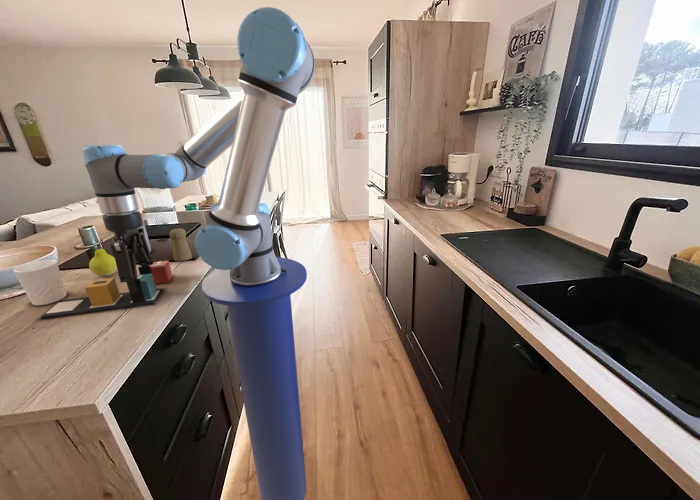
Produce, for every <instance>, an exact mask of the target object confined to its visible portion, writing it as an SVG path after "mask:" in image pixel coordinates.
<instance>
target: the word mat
mask: <svg viewBox="0 0 700 500" xmlns="http://www.w3.org/2000/svg"><path fill="white" fill-rule="evenodd" d="M156 290H157V292H156V293H155V295H154V296H153V298H152V299H146V301H145V302H139V303H133V302H132V299H131V295H130V292H129V291H128V292H119V293H120V296H119V298H118V299H117V300H116V301H115V302H114V303H113V304H109V305H101V306H93V307H92V304H91V302H90V299H89V296H87V297H86V296H85V297H79V298H70V299H61V300H59V301H57V303H56V304H54V306H52V307H51V308H50V309H48V310H47V311H46V312H45V313H44V314H42V315H41V316H40V320H45V319H51V318H59V317H68V316H74V315H82V314H89V313H97V312H106V311H111V310H121V309H128V308H135V307H141V306H142V307H143V306H149V305H155V304H156V302H157V300H158V299H159V297H160V296H161V294H162V292H163V290H164V288H163V287H162V288H156Z"/></svg>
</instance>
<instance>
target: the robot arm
mask: <svg viewBox="0 0 700 500" xmlns="http://www.w3.org/2000/svg"><path fill="white" fill-rule="evenodd" d="M236 48H237V52H238V56H239V59H240V61H241V65H240V69H239V70H240V71H239V75H238V81H237V82H238V83H239V86H240V87H241V90H240V91H239V92H238V93H237V94H236V95H235V96H234V97H232V99H231V100H230V101H229V102H227V103H226V104H225V105H224V106H223V107H222V108H220V110H219V111H218V112H217V113H216V114H215V115H213V116H212V117H211V118H210V119H209V120H208V121H207V122H206V123H205V124H204V125H202V127H201V128H199V130H198V129H197V131H196V132H195V133H194V134H193V135H191V136H190V137H189V139H187V140H186V141H185V142H184V143H183V144H182V145H181V146H180V147H179V148H178V149H177V150H175V151H173V152H165V153H152V154H150V153H149V154H128V153H126V152H125V149H124V147H123V146H122V145H120V144H88V145H84V146H83V147H82V155H83V159H84V167H85V168H86V171H87V173H88V176H89V179H90V182H91V185H92V188H93V192H94V195H95V197H96V199H95V203H96V204H98V207H99V210H100V213H101V214H103V215H102V217H101V218H102V221H103V224H104V227H105V230H107V231H109V232H113V233H114V232H115V235H116V238H115V242H111V243H110V248H111V251H112V253H113V257H114V258H115V261H116V265H117V274H118V278H119V281H120V283H121V284H122V283H126V286H127V285H128V286H127V289H128V292H130V295H131V298H132V302H133V303H139V302H145V301H146V298H145V295H144V291H143V288H142V285H141V281H140V278H137V275H138V274H139V275H144V274H152V271H151V267H150V266H149V265H153V262H154V261H153V257H152V254H151V252H150V251H149V248H148V245H147V242H146V239H145V235H144V229H143V228H139V227H141V226H142V225H143V220H144V219H143V220H142V217H143V216H142V212H141V211H139V209H140V204H139V201H138V197H137V194H136V190H135V189H159V190H166V189H176V188H178V187H180V186H181V183H185V182H191V181H196V180H197V179H199V178H202V177H203V176H204V175H205V174H206V171H207V168H208V167H209V166H210V165H211V164H212V163H213V162H215V161H216V160H217V159H218V158H219V157H220V156H222V154H224V153H225V152H226V151H227V150H228V149H230V153H229V157H228V162H227V166H226V170H225V174H224V177H223V178H224V179H223V184H222V188H221V192H220V196H219V200H218V201H217V202H214V203H213V204H211V205H210V207H209V212H208V216H207V219H206V225H204V226H202V227H201V228H199V230H198V232H197V233H196V234H195V237H194V249H195V251H196V254H197V255H198V256H199V257H200V258H201V260H202V261H203V262H204V263H205V264H207V265H208V266H210V267H211V268H214V269H215V270H216V269H220V270H230V280H231V282H232V283H233V284H234V285H237V286H240V287H258V286H263V285H267V284H270V283H272V282H274V281H276V280H277V279H278V278H279V277H280V276H281V271H282V272H284V273H286V271H287V270H284V269H282V268H281V267H280V264H279V262H278V260H277V258H276V257H277V256H276V253H275V252H274V244H273V234H272V233H273V232H272V224H271V213H270V208H269V206H268V204H266V203H264V202H263V203H262V202H261V199H262V195H263V192H264V188H265V186H266V182H267V179H268V174H269V172H270V168H271V165H272V160H273V157H274V153H275V150H276V147H277V143H278V139H279V135H280V132H281V129H282V125H283V122H284V119H285V115H286V112H287V111H288V110H290V109H291V108H294V107H295V106H296V104H297V100H298V97H299V95H300V94H301V93H302V92H303V91H305V90H306V89H307V88H308V87H309V85H311V82H312V80H313V78H314V75H315V70H316V59H315V56H314V52H313V49H312V48H311V45H310V44H309V42H308V41H307V40H306V38H305V34H304V32H303V30H302V28H301V27H300V25H299V24H298V23H297V22H296V21H295V20H294V19H293V18H292V17H291V16H290V15H289V14H287V13H286V12H285V11H283V10H281V9H279V8H276V7H271V6H264V7H259V8H256V9H255V10H253V11H250V12H249V13H248V14H247V15H246V16H245V17H244V18H243V20H242V21H241V23H240V25H239V28H238V31H237V36H236ZM115 235H114V236H115ZM137 264H138V267H137ZM137 270H138V271H137ZM153 279H154V278H153Z"/></svg>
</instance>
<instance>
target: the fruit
mask: <svg viewBox="0 0 700 500" xmlns="http://www.w3.org/2000/svg"><path fill="white" fill-rule="evenodd" d="M103 240H104V238H101V240H100V241H99V242H98V248H97V249H96V250H95V251H94V256H93V257H92V258H91V259H90V260H89V264H88V268H89V270H90V272H92V273H93V274H94V275H97V276H100V277H109V276H112V275H113V274H115V273H116V272H117V271H118V269H117V265H116V261H115V257H114V255H112V254H109V253H108V252H106V250H105V249H104V248H100V245H101V243H102V242H103Z"/></svg>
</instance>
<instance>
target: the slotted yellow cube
mask: <svg viewBox="0 0 700 500" xmlns="http://www.w3.org/2000/svg"><path fill="white" fill-rule="evenodd" d="M85 290H86V294H87V297H89V299H90V302H91V304H92V307H93V306H101V305H109V304H113V303H114V302H115V301H116V300H117V299H118V298H119V296H120V293H121V292H120V289H119V287H118V284H117V281H116V278H115V277H109V278H99V279H93V280H92V281H91V282H90V283H89V284H88V285H87V286H85Z"/></svg>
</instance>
